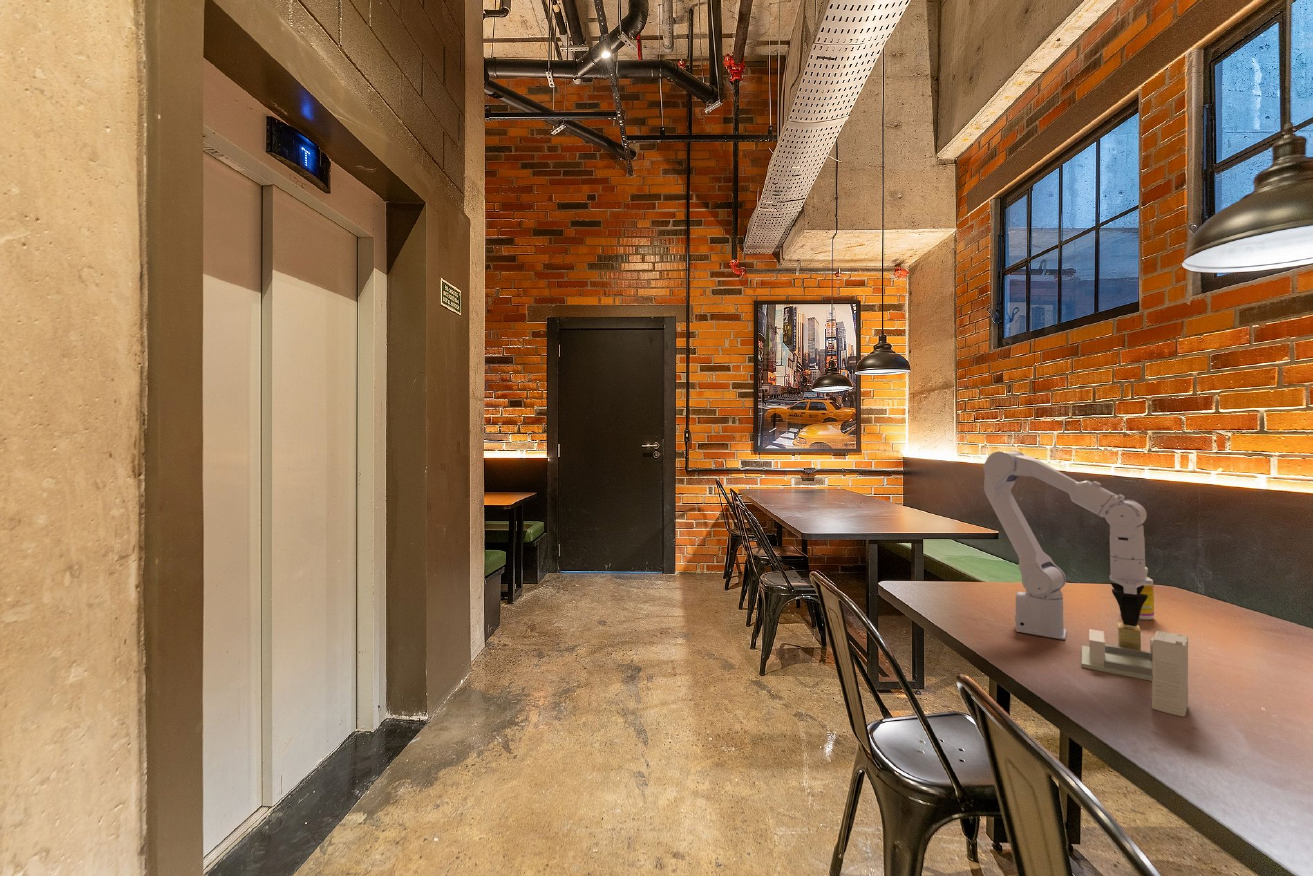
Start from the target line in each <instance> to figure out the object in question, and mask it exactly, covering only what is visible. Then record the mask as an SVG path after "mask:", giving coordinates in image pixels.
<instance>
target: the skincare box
mask: <svg viewBox="0 0 1313 876" xmlns="http://www.w3.org/2000/svg"><path fill="white" fill-rule="evenodd" d="M1153 638H1154V639H1153V656H1152V681H1151V708H1152V709H1153V710H1156V711H1159V712H1163V713H1167V714H1169V715H1173V716H1178V717H1183V718H1184V717H1186V713H1187V709H1188V705H1189V704H1188V703H1189V672H1188V671H1189V637H1188V636H1187V635H1183V634H1177V633H1171V632H1167V631H1166V632H1165V631H1159V630H1156V631H1155V633H1154V636H1153Z"/></svg>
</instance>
